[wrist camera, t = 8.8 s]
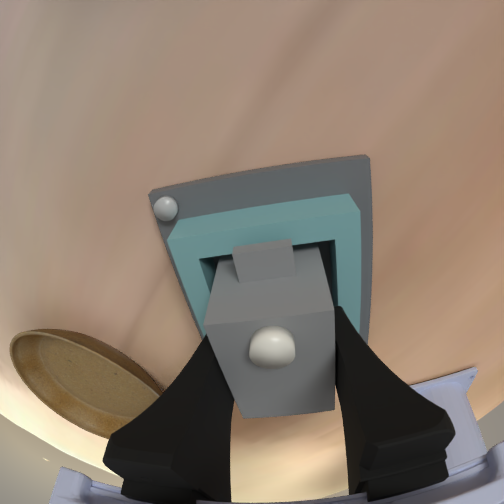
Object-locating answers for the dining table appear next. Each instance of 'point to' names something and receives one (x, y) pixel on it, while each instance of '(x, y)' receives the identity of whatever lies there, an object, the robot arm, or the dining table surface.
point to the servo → (274, 329)
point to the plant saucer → (83, 379)
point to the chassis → (274, 226)
